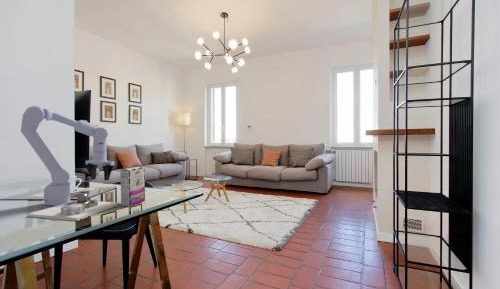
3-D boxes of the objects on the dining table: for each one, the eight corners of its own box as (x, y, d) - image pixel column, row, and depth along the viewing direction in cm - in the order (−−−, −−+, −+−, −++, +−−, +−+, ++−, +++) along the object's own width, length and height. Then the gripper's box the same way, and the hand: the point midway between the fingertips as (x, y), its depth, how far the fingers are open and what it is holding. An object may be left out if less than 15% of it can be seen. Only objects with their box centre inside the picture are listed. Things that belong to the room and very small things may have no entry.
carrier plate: (27, 216, 96) (27, 207, 96) (77, 202, 118) (77, 194, 117) (77, 220, 92) (77, 211, 92) (119, 205, 113) (119, 197, 113)
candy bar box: (136, 200, 123) (136, 166, 122) (145, 200, 122) (145, 166, 121) (119, 206, 112) (119, 169, 111) (129, 206, 111) (129, 169, 110)
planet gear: (67, 207, 105) (67, 195, 105) (81, 203, 112) (81, 191, 112) (82, 208, 104) (82, 196, 104) (95, 203, 111) (95, 192, 111)
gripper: (118, 151, 126) (118, 179, 127) (93, 151, 129) (93, 177, 130) (108, 152, 120) (108, 181, 120) (81, 152, 122) (82, 180, 123)
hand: (100, 179), depth 124 cm, fingers open, 7 cm apart
